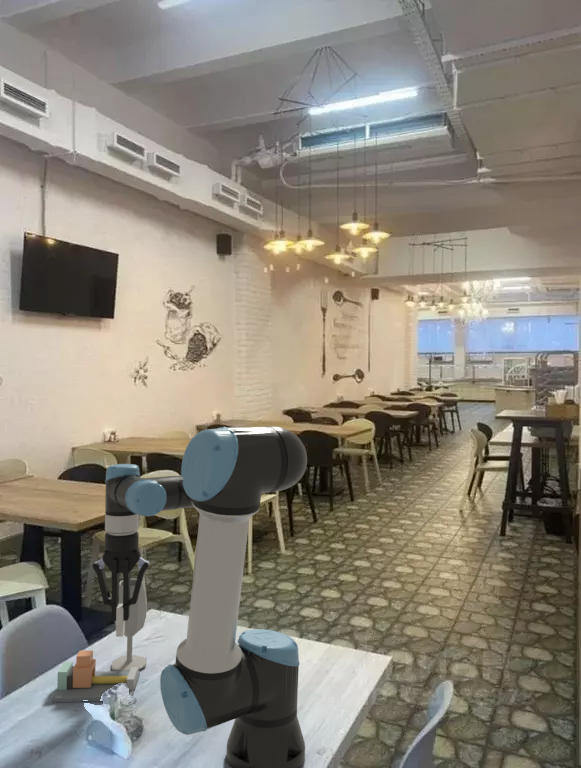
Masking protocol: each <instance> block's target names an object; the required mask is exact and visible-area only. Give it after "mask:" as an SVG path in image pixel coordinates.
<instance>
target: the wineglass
mask: <svg viewBox="0 0 581 768" xmlns="http://www.w3.org/2000/svg"><path fill="white" fill-rule="evenodd" d="M136 580H137V578H135V577H134V578H130V598H132V596H133V592H134V588H135V584H136ZM147 601H148V599H147V593H146V587H145V583H144V580H143V581H142V585H141V589H140V593H139V597H138V600H137V602H136V604H132V605H130V616H129V619H128V621H125V632H124V635H123V636H125V637H127V638H126V655H121V656H119V657H118V658H115V659H114V660H112V664H111V671H130V669H131V667H138V671H140V672H141V670H143V669H144V668H146V667H147V657H145V656H141V655H136V654H133V637H134V636H135V635H137V633H139V631H140V630H142V629H143V628H144V626H145V623H146V618H147ZM118 604H123V579H122V580H119V602H118ZM114 623H115V626H116V621H114Z"/></svg>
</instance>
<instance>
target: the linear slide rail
mask: <svg viewBox="0 0 581 768" xmlns="http://www.w3.org/2000/svg"><path fill="white" fill-rule="evenodd" d="M73 664H74V663H73V661H63V663H62V664H61V666H60V668H59V670H58V671H57V688H56V689H57V690H56V691H55V693H54V695H53V697H52V703H82V702H81V701H83V700H88V701H92V702H93V703H95V702H98V701H100V699H101V696H102V694H103V693H104V692H105V691H107V690H108V689H110V688H112V687H113V686H114V685H116V684H118V683H122V682H123V683H126V684H127V686H128V688H129V695H131V696H133V697H134V693H135V691H136V688H137V685H138V681H139V678H140V674H141V673H140V672H141V670H140V671H138V667H131V669H130V671H113V670H109V671H104V670H103V671H95V676H92V686H91V688H73V668H74V666H75V665H73Z"/></svg>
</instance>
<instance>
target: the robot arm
mask: <svg viewBox="0 0 581 768" xmlns="http://www.w3.org/2000/svg"><path fill="white" fill-rule="evenodd" d="M307 454H308V453H307V450H306V447H305V445H304V444H303V442H302V440H301V438H300V437H298V436H297V435H296V434H295V433H294V432H293V431H291V430H288V429H286V428H284V427H280V426H272V425H271V426H252V427H251V426H248V427H247V426H242V427H241V426H239V427H238V426H237V427H235V426H233V427H226V426H220V427H217V428H210V429H208V428H207V429H204V430H201V431H199V432H198V433H196V434H195V435H194V436H193V437H192V438H191V439H190V441H189V442H188V444H187V446H186V447H185V450H184V453H183V455H182V460H181V461H182V462H181V467H180V468H181V471H180V472H181V473H180V475H170V476H155V477H153V476H152V477H141V473H140V468H139V467H140V466H139V465H137V464H132V463H118V464H111V465H108V466H107V468H106V472H105V480H104V483H105V500H104V501H105V512H104V513H105V514H104V515H105V516H104V531H105V532H106V533H105V534H104V552H103V554H102V557H101V558H100V559H99V560H96V561H95V562H94V563H92V569H93V570H94V572H95V574H96V577H97V580H98V581H97V582H98V585H99V589H100V594H101V598H102V602H103V604H104V605H105V606H107V605H108V606H110V607H111V621H112V622H113V621H114V622H115V621H116V625H115V637H116V638H117V637H123V636H125V635H124V632H125V621H128V619H129V616H130V605H132V604H136V602H137V600H138V597H139V593H140V589H141V585H142V581H143V582H144V576H145V574H146V573H145V572H146V571H147V569H148V568H149V566H150V564H151V561H150V560H149V559H145V558H143V557H141V552H140V551H139V538H140V537H139V536H140V535H139V532H138V530H139V525H140V522H139V520H140V517H143V516H144V517H152V516H155V515H157V514H159V513H160V512H164V511H165V512H166V511H173V510H180V509H188V508H194V509H195V510H196V511H197V512H198V513H199V517H198V529H197V535H196V536H197V537H196V547H195V556H194V557H195V558H194V565H193V566H194V567H193V575H192V585H191V593H190V594H191V596H190V605H189V613H188V622H187V633H186V638H185V639H184V640H182V641H181V642H180V643H179V645H178V646H177V648H176V655H175V662H174V663H173V664H168V665H167V666H165V667H164V668H163V669H162V671H161V674H160V676H159V677H160V679H159V680H160V681H159V682H160V683H159V685H160V686H159V687H160V695H161V699H162V702H163V705H164V706H163V707H164V709H165V711H166V714H167V717H168V719H169V721H170V722H171V724H172V726H173V727H174V728H175V729H176V730H177V731H178V732H179V733H181V734H182V735H187V736H189V735H193V734H197V733H201V732H202V733H203V732H206V731H207V730H209V729H212V728H214V727H216V726H219V725H222V724H225V723H227V722H230V721H232V720H234V722H233V724H232V726H231V730H230V733H229V736H228V739H227V742H226V758H225V759H226V761H227V763H228V766H229V767H230V766H231V767H232V768H301V767H302V766H303V765H304V764H305V763H304V762H305V759H306V758H305V757H306V744H305V743H306V742H305V740H304V735H303V731H302V729H301V728H302V727H301V726H300V725H301V724H300V722H299V719H298V693H299V691H298V688H299V687H298V686H299V670H300V669H299V666H300V660H299V646H298V644H297V642H296V641H295V640H294V639H293V638H292V637H291V636H289V635H288V634H285V633H282V632H280V631H276V630H272V629H266V628H265V629H263V628H260V629H259V628H255V629H254V628H253V629H248V630H245V631H243V632H241V633H240V635H239V636H238V639H237V641H236V638H237V630H238V620H239V619H238V618H239V612H240V611H239V610H240V604H241V603H240V602H241V594H242V587H243V577H244V569H245V559H246V552H247V543H248V535H249V526H250V518H252V517H254V515H256V514H257V513H258V512H260V508H261V507H260V506H261V499H262V495H263V494H268V493H275V492H281V491H284V490H287V489H289V488H292V487H293V486H295V485H296V484H297V483H298V482H299V481H300V480H301V479H302V477H303V476H304V475H305V472H306V469H307V466H308V465H307V464H308V456H307ZM137 564H138V566H137V567H138V569H139V571H138V573H137V578H136V579H137V580H136V584H135V588H134V592H133V596H132V598H130V579H131V575H132V570H133V569H134V567H135V566H136V565H137ZM105 566H107V568H108V569H109V571H110V572H111V593H110V588H109V584H108V580H107V576H106V571H105V569H104V568H105ZM120 573H122V578H123V579H122V580H123V604H118V602H119V583H120ZM231 767H230V768H231Z"/></svg>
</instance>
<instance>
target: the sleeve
mask: <svg viewBox="0 0 581 768" xmlns="http://www.w3.org/2000/svg"><path fill="white" fill-rule="evenodd" d="M75 657H76V660H75V661H76V663H75V664H74V665H73V666H74V668H73V688H91V686H92V676H95V672H96V665H97V664H96V663H97V661H96V660H97V659H96V658H94V650H91V649H90V650H88V649H87V650H79V651H78V653H77V655H76V656H75Z"/></svg>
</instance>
